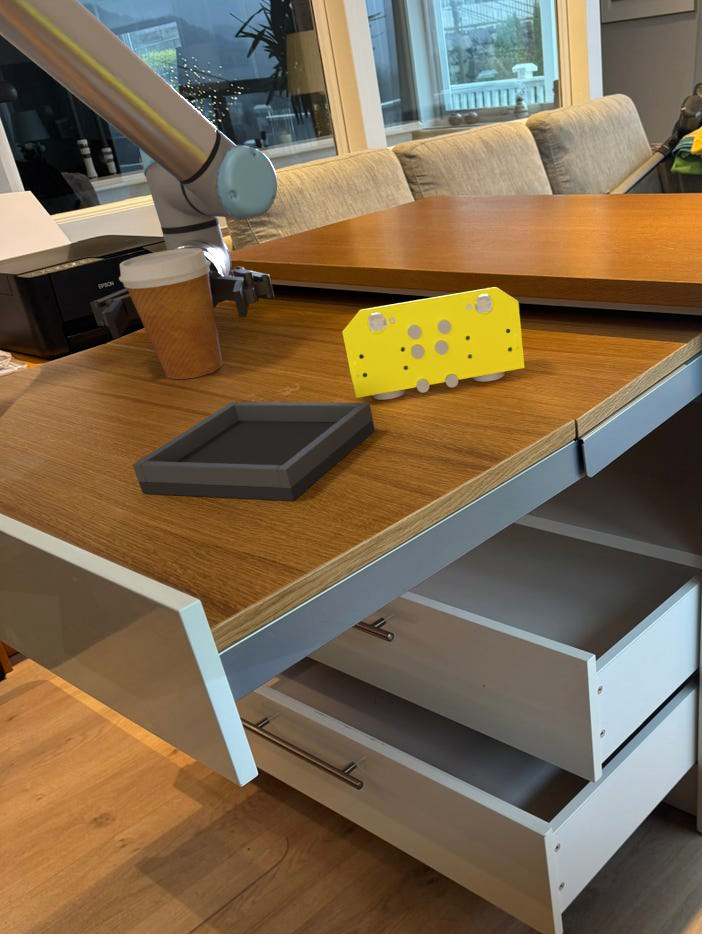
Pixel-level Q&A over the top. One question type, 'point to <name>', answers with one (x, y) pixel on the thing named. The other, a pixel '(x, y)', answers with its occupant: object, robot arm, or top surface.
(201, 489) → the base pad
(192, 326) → the disposable coffee cup
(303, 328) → the top surface
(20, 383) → the top surface
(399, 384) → the yellow toy chassis
